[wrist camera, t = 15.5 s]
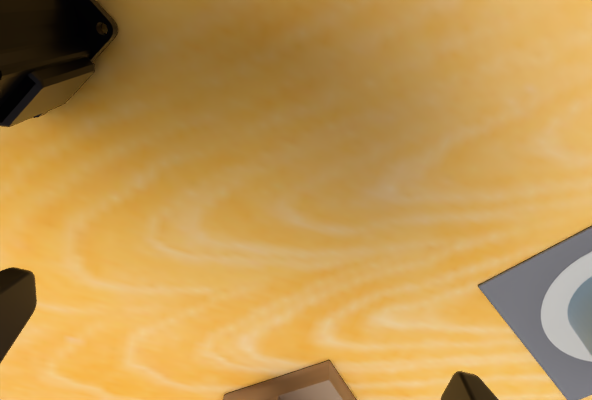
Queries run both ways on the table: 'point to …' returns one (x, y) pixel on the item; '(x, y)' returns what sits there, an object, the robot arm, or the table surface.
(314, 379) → the catapult
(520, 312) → the pad
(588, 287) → the pale blue capsule
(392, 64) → the table surface
